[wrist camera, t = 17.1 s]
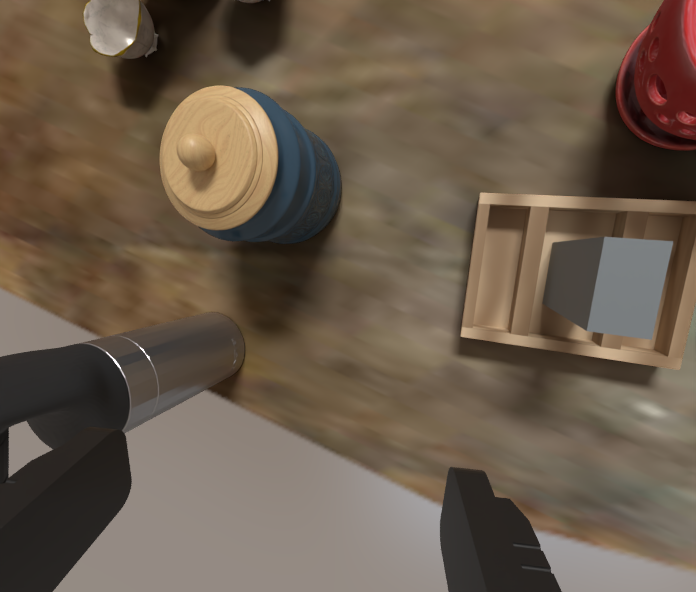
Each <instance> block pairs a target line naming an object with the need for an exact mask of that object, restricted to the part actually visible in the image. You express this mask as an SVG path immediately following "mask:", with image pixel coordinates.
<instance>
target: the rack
mask: <svg viewBox="0 0 696 592" xmlns="http://www.w3.org/2000/svg"><path fill="white" fill-rule="evenodd" d="M598 237H616V238H630V239H645V240H660V241H673V246H672V250H671V255H670V259H669V264H668V268H667V273H666V277H665V282H664V287H663V291H662V296H661V300H660V305H659V309H658V314H657V318H656V323H655V328H654V332H653V337H652V340H649V339H641V338H634V337H627V336H619V335H612V334H604V333H597V332H589V331H586V330H584V329H582V328H581V327H579V326H578V325H576V324H574V323H573V322H571V321H570V320H568V319H566V318H565V317H563V316H562V315H560V314H558V313H557V312H555V311H553V310H552V309H550V308H549V307H547V306H545V305H544V304H542V302H543V296H544V290H545V285H546V279H547V273H548V267H549V261H550V255H551V249H552V243H553V242H561V241H570V240H580V239H589V238H598ZM695 303H696V201H673V200H649V199H624V198H599V197H575V196H550V195H525V194H500V193H480V195H479V200H478V207H477V215H476V222H475V229H474V236H473V244H472V251H471V258H470V266H469V273H468V280H467V288H466V295H465V302H464V310H463V317H462V324H461V337H466V338H473V339H479V340H486V341H492V342H499V343H506V344H512V345H519V346H525V347H532V348H538V349H545V350H552V351H558V352H565V353H571V354H578V355H584V356H591V357H598V358H604V359H611V360H617V361H624V362H631V363H637V364H644V365H650V366H657V367H663V368H670V369H677V370H680V366H681V362H682V358H683V354H684V349H685V345H686V341H687V337H688V332H689V328H690V324H691V320H692V315H693V311H694V307H695Z"/></svg>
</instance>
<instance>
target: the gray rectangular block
mask: <svg viewBox="0 0 696 592" xmlns="http://www.w3.org/2000/svg"><path fill="white" fill-rule="evenodd" d="M672 246H673V241H660V240H645V239H630V238H616V237H598V238H589V239H580V240H570V241H561V242H553V243H552V249H551V255H550V261H549V267H548V273H547V279H546V285H545V290H544V296H543V302H542V304H544V305H545V306H547V307H549V308H550V309H552V310H553V311H555V312H557V313H558V314H560V315H562V316H563V317H565V318H566V319H568V320H570V321H571V322H573V323H574V324H576V325H578V326H579V327H581V328H582V329H584V330H586V331H589V332H597V333H604V334H612V335H619V336H627V337H634V338H641V339H649V340H652V337H653V332H654V328H655V323H656V318H657V314H658V309H659V305H660V300H661V296H662V291H663V287H664V282H665V277H666V273H667V268H668V264H669V259H670V255H671V250H672Z"/></svg>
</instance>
